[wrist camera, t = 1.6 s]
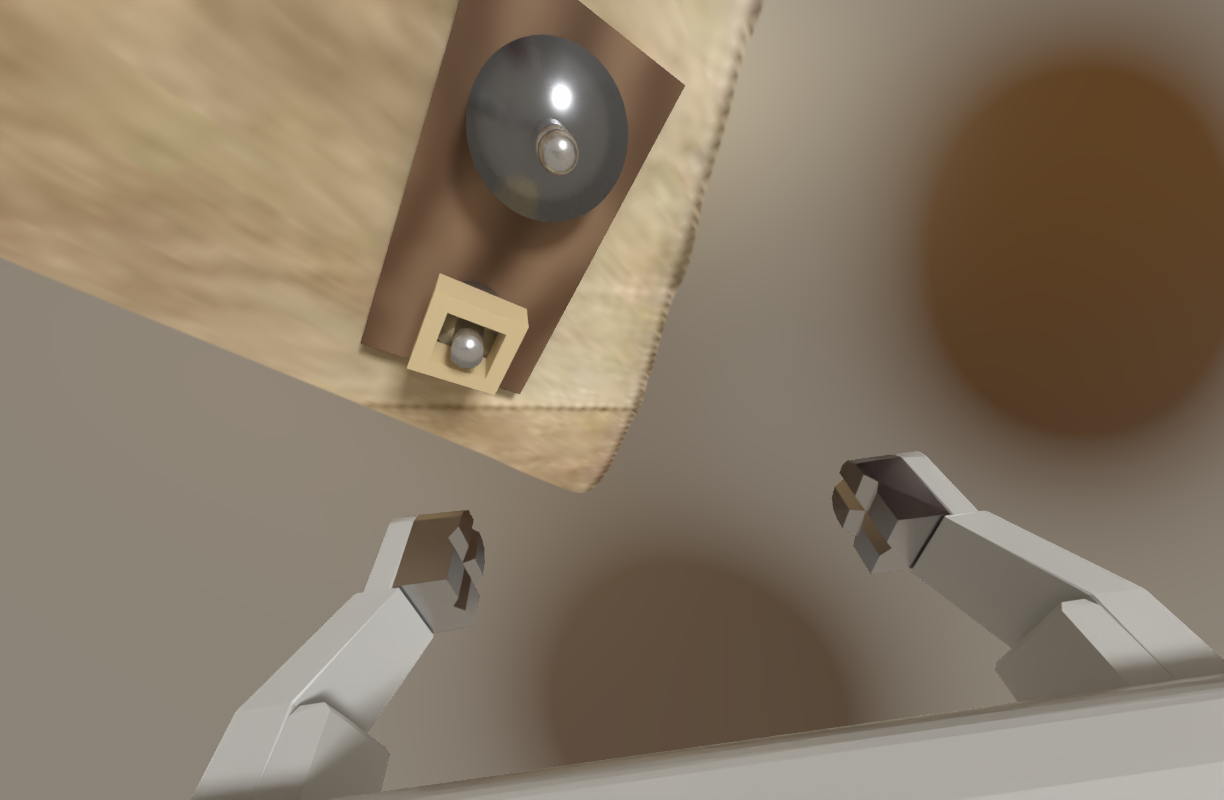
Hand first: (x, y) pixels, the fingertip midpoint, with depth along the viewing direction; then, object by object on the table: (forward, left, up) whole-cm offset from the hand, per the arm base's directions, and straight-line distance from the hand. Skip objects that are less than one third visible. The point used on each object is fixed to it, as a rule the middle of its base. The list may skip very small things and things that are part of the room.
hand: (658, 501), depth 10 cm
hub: (-2, +3, -29) cm, 29 cm away
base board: (-2, -4, -30) cm, 31 cm away
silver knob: (-2, -11, -29) cm, 31 cm away
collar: (-2, -11, -26) cm, 28 cm away
